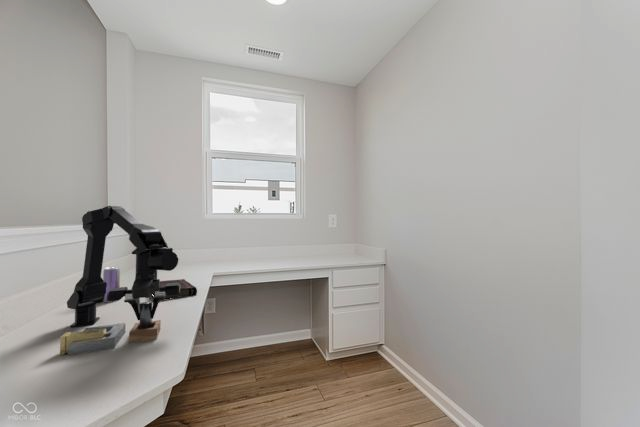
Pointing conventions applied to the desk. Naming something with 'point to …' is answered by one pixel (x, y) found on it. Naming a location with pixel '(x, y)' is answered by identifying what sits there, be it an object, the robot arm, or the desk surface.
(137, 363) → the desk surface
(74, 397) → the desk surface
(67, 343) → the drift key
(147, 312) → the peg
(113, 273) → the beverage can
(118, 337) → the socket
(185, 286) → the diary
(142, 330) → the brown square tray
